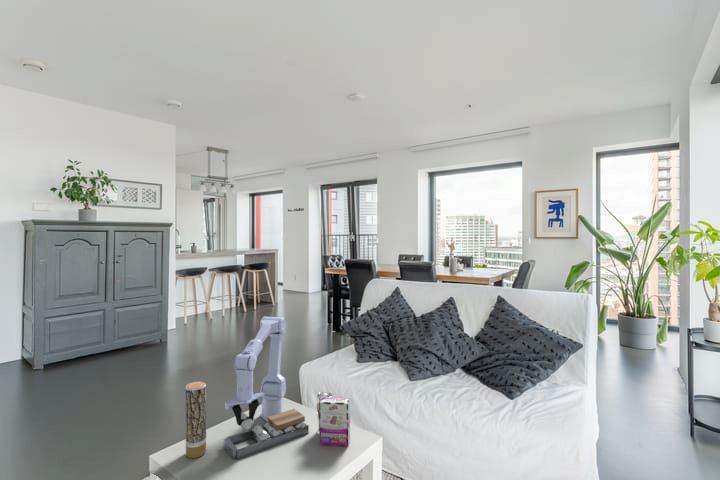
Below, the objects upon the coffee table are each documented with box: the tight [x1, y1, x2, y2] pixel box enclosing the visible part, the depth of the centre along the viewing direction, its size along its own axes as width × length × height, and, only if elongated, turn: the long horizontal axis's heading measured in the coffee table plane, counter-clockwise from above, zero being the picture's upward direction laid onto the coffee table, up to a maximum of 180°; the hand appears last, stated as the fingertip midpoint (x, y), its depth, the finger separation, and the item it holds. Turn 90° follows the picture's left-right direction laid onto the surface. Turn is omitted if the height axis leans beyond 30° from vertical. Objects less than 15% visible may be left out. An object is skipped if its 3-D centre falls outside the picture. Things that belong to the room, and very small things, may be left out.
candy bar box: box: [319, 397, 351, 447], centre depth 143 cm, size 11×5×16 cm, turn 83°
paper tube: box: [185, 381, 207, 459], centre depth 135 cm, size 7×7×25 cm
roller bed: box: [223, 421, 310, 460], centre depth 145 cm, size 11×30×4 cm, turn 128°
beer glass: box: [315, 391, 334, 436], centre depth 150 cm, size 7×7×15 cm
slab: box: [268, 408, 306, 431], centre depth 150 cm, size 9×12×2 cm
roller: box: [235, 412, 256, 432], centre depth 139 cm, size 8×4×4 cm, turn 39°
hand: (245, 422), depth 139 cm, fingers closed on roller, 4 cm apart
